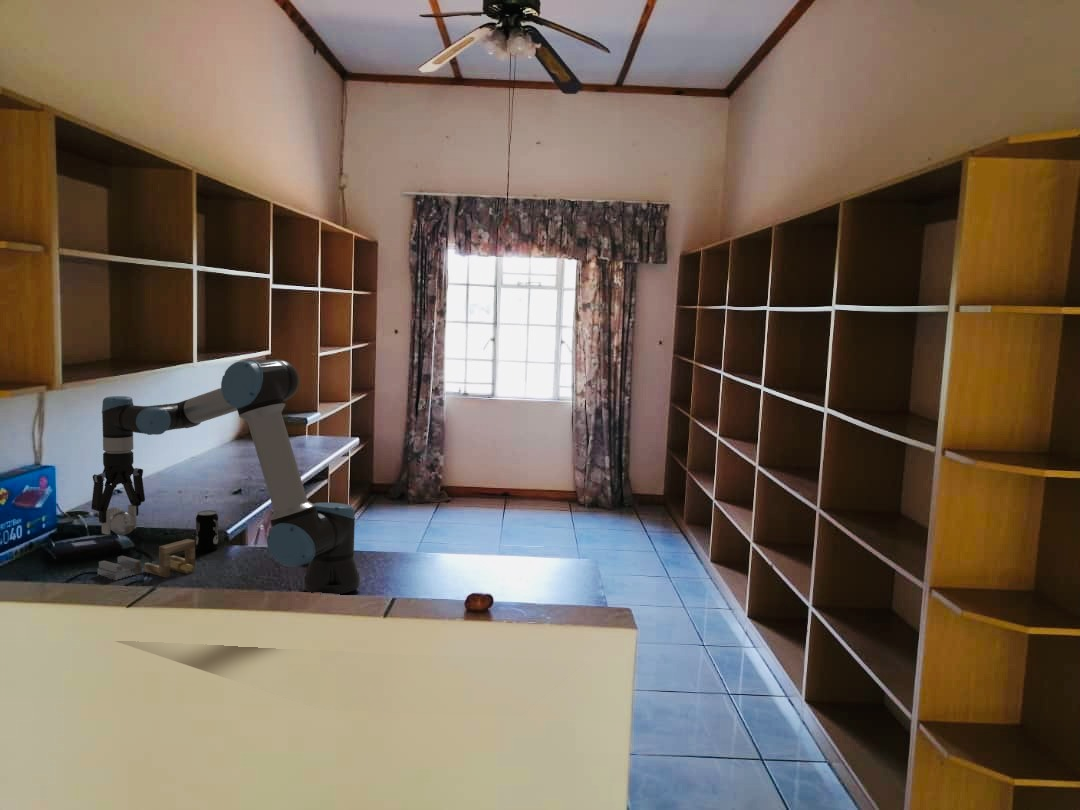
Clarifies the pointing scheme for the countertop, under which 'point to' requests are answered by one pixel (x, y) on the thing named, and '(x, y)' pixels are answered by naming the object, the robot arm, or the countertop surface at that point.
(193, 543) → the tan wooden angular frame
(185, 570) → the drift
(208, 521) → the beverage can
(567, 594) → the countertop surface
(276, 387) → the robot arm
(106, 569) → the v block
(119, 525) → the grey rounded piece
